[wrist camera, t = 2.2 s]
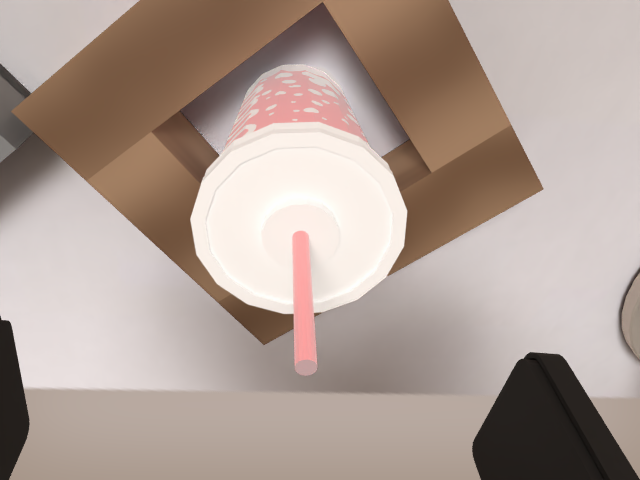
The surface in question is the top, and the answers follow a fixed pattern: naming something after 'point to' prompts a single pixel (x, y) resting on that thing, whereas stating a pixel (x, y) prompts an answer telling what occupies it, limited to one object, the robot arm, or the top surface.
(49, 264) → the top surface
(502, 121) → the square wooden frame block
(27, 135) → the tray
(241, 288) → the beverage cup
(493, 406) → the robot arm
